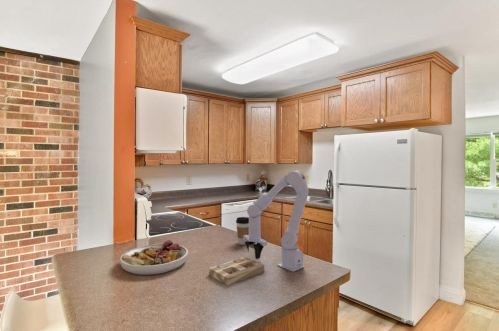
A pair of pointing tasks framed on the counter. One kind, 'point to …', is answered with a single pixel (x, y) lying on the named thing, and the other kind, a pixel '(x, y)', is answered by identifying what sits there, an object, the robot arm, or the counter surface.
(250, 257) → the plug
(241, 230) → the coffee cup
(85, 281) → the counter surface
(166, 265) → the bowl
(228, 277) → the socket block
